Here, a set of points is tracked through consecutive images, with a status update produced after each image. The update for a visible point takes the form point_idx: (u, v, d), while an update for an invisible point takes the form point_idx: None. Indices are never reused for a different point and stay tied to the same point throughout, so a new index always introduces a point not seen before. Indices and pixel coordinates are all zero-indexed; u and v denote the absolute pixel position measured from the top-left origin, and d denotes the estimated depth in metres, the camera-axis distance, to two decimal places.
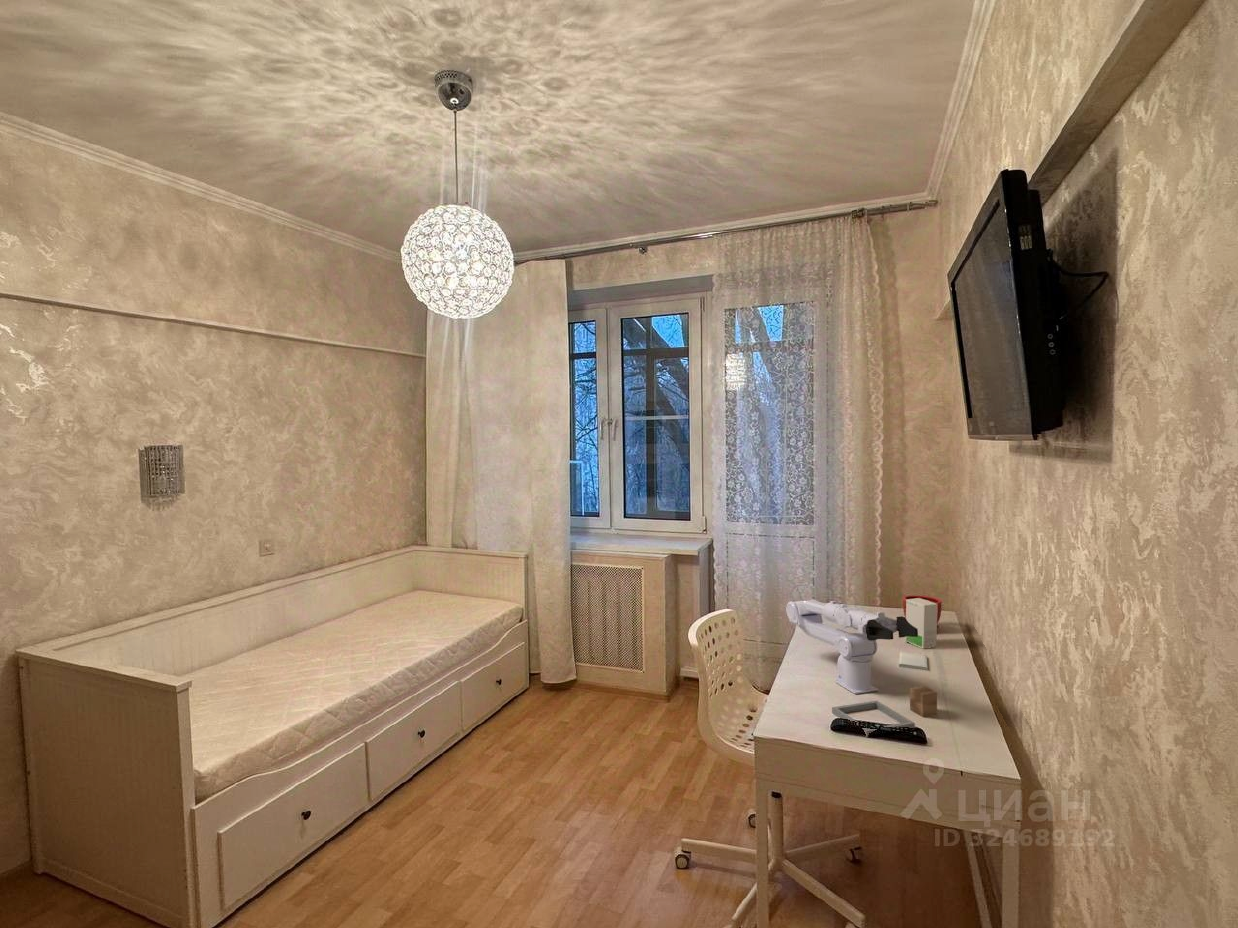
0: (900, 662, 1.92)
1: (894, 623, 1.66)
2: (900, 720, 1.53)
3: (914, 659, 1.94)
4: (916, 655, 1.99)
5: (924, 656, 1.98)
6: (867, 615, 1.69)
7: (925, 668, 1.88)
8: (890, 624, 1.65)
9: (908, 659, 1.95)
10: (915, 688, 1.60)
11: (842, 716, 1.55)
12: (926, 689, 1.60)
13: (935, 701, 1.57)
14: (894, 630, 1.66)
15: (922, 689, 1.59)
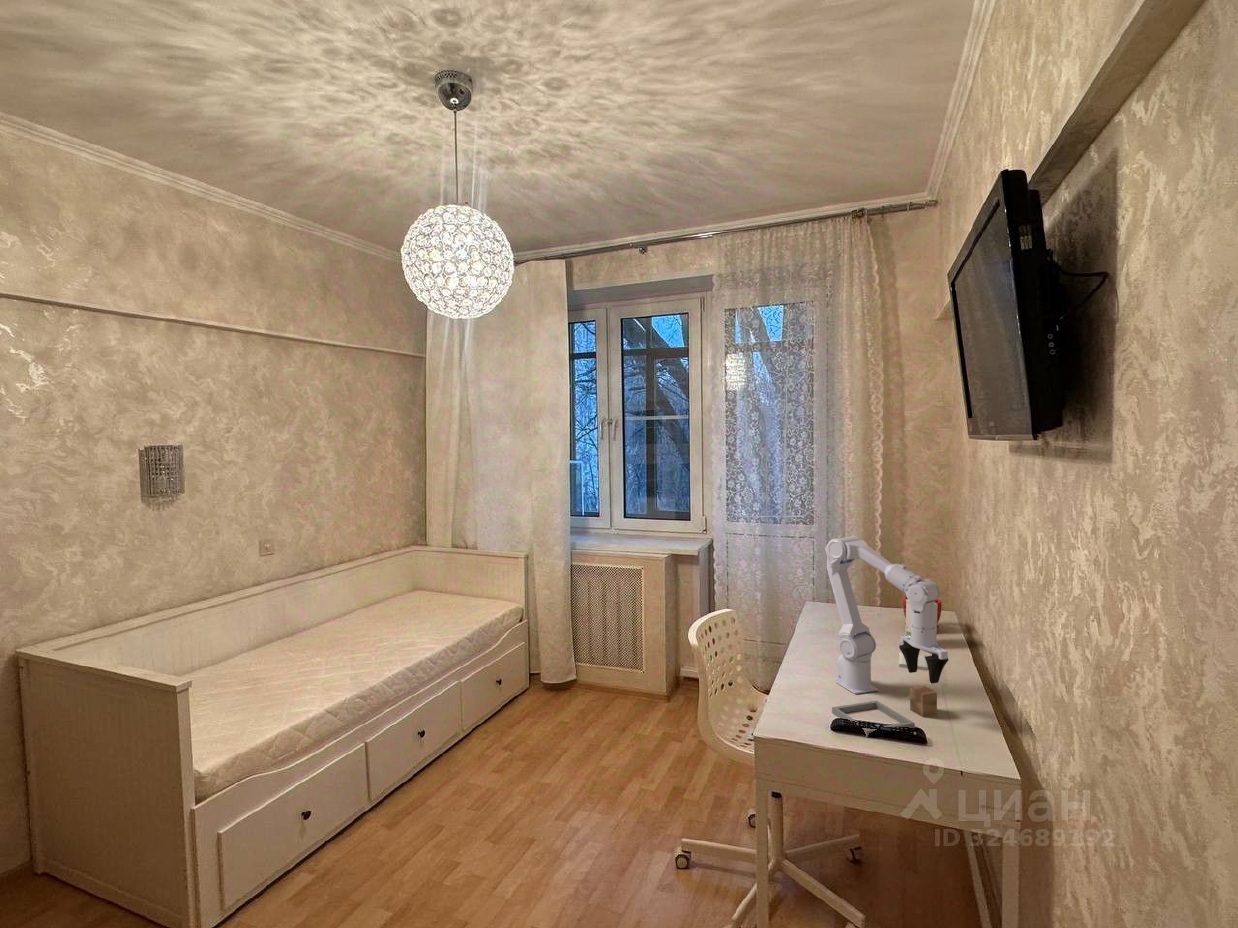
0: (900, 662, 1.92)
1: None
2: (900, 720, 1.53)
3: None
4: None
5: (924, 656, 1.98)
6: None
7: (925, 668, 1.88)
8: None
9: None
10: (915, 688, 1.60)
11: (842, 716, 1.55)
12: (926, 689, 1.60)
13: (935, 701, 1.57)
14: None
15: (922, 689, 1.59)
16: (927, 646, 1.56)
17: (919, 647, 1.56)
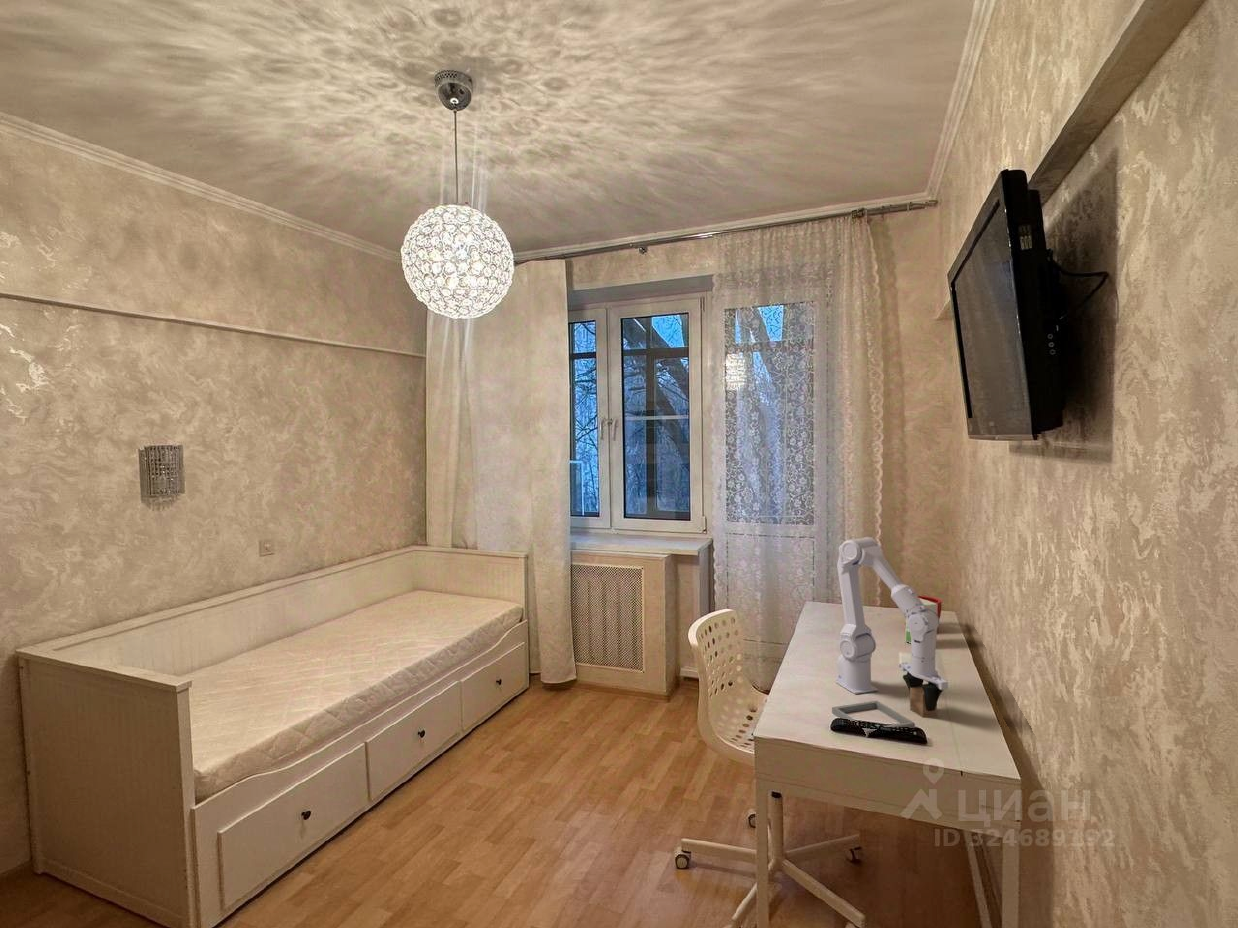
0: (900, 662, 1.92)
1: None
2: (900, 720, 1.53)
3: None
4: None
5: None
6: None
7: None
8: None
9: (908, 660, 1.94)
10: (915, 688, 1.60)
11: (842, 716, 1.55)
12: None
13: None
14: None
15: (922, 689, 1.59)
16: (927, 676, 1.56)
17: (919, 677, 1.56)
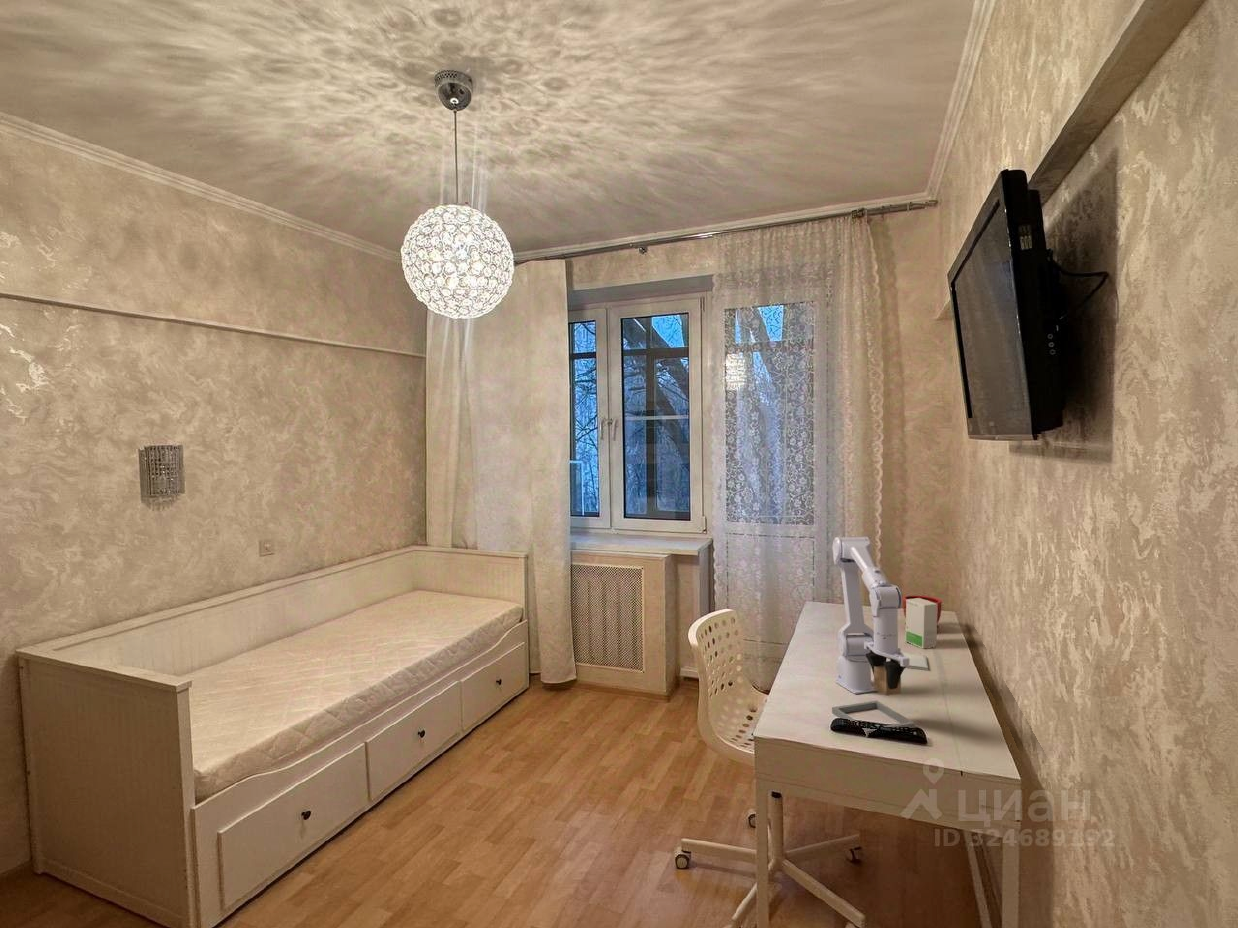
0: None
1: None
2: (900, 720, 1.53)
3: (914, 660, 1.94)
4: (915, 655, 1.98)
5: (923, 656, 1.98)
6: None
7: (926, 668, 1.88)
8: None
9: None
10: (879, 666, 1.57)
11: (842, 716, 1.55)
12: None
13: (899, 679, 1.54)
14: None
15: None
16: (889, 653, 1.53)
17: (881, 654, 1.53)
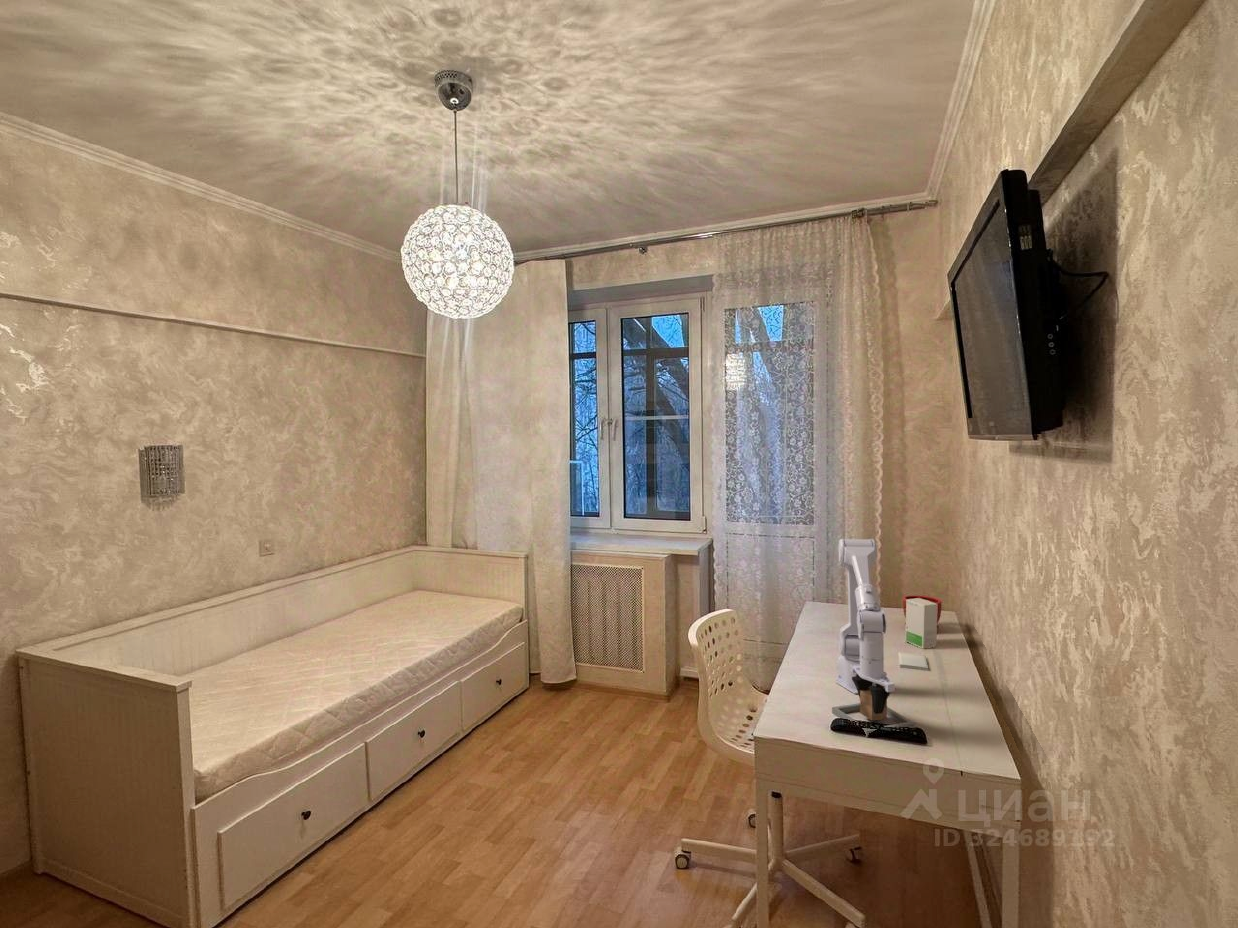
0: (901, 663, 1.92)
1: None
2: (900, 720, 1.53)
3: (914, 660, 1.94)
4: (915, 655, 1.98)
5: (923, 656, 1.98)
6: None
7: (926, 668, 1.88)
8: None
9: (908, 660, 1.94)
10: (865, 690, 1.56)
11: (842, 716, 1.55)
12: None
13: (885, 704, 1.53)
14: None
15: None
16: (875, 677, 1.52)
17: (867, 678, 1.52)
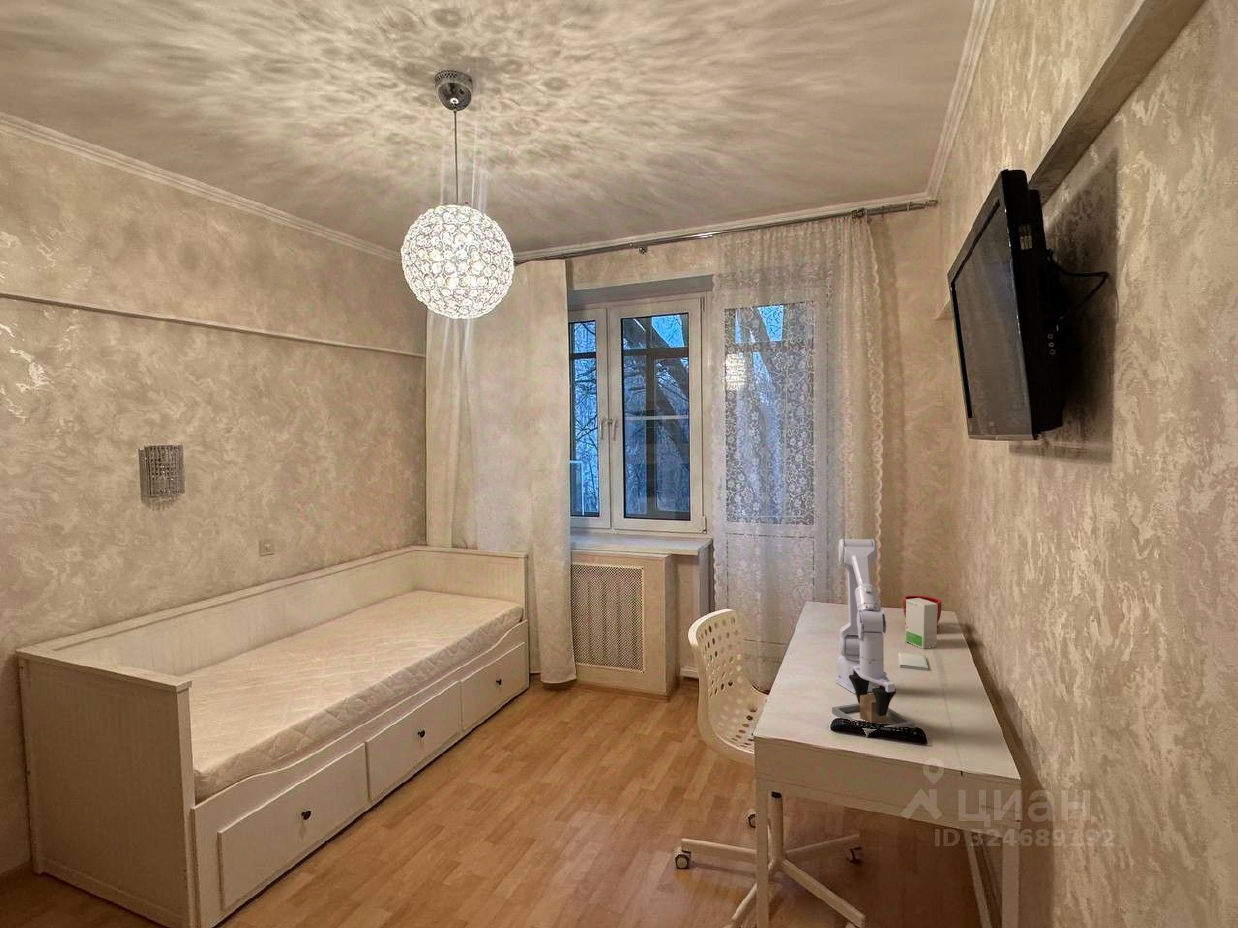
0: (901, 663, 1.92)
1: None
2: (900, 720, 1.53)
3: (914, 660, 1.94)
4: (915, 655, 1.98)
5: (923, 656, 1.98)
6: None
7: (926, 668, 1.88)
8: None
9: (908, 660, 1.94)
10: (865, 695, 1.56)
11: (842, 716, 1.55)
12: None
13: None
14: None
15: (872, 697, 1.55)
16: (875, 677, 1.52)
17: (867, 678, 1.52)
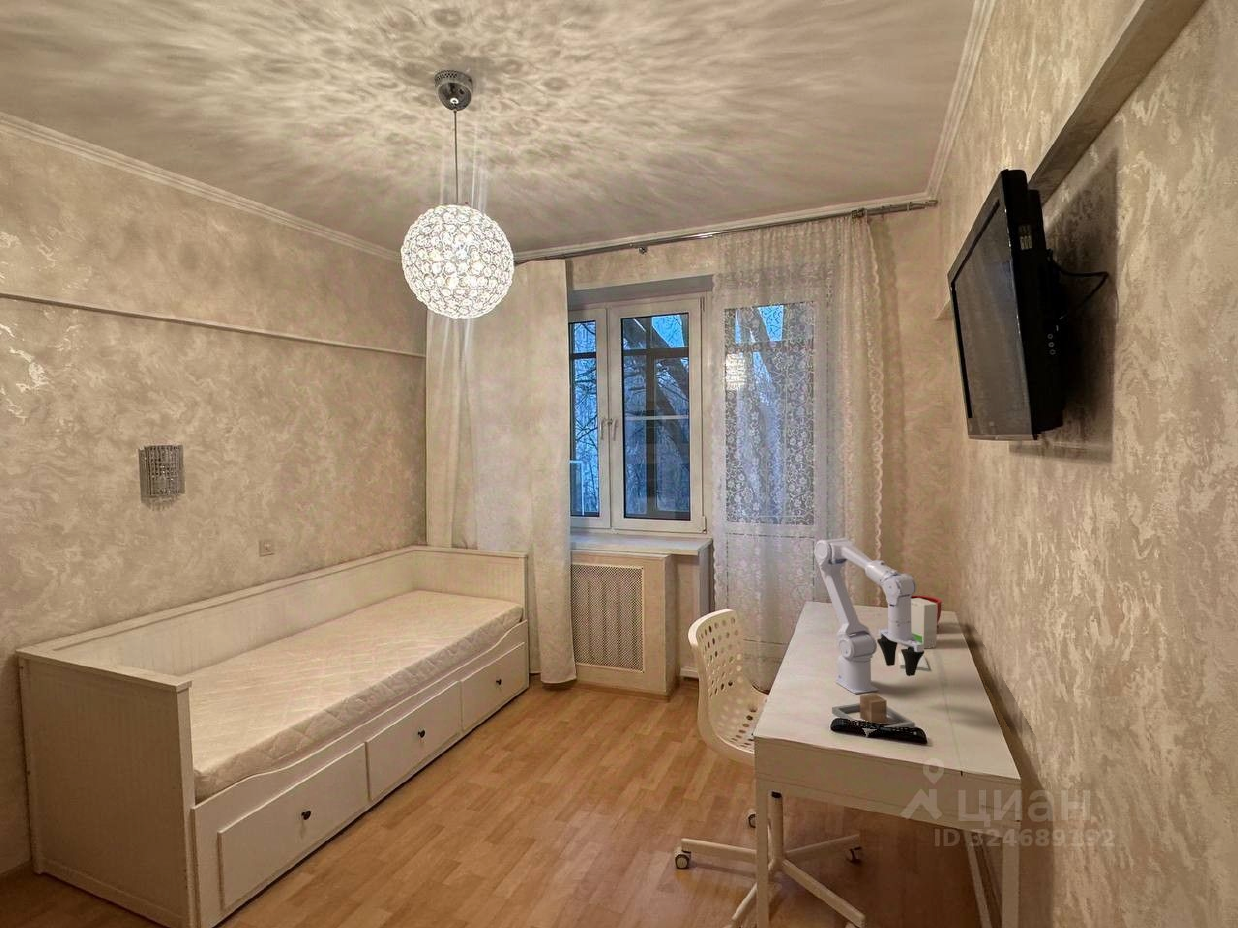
0: (901, 663, 1.92)
1: None
2: (900, 720, 1.53)
3: None
4: None
5: (922, 656, 1.98)
6: None
7: (926, 669, 1.88)
8: None
9: None
10: (865, 695, 1.56)
11: (842, 716, 1.55)
12: (876, 696, 1.55)
13: (885, 709, 1.53)
14: None
15: (872, 697, 1.55)
16: (903, 639, 1.58)
17: (896, 640, 1.59)
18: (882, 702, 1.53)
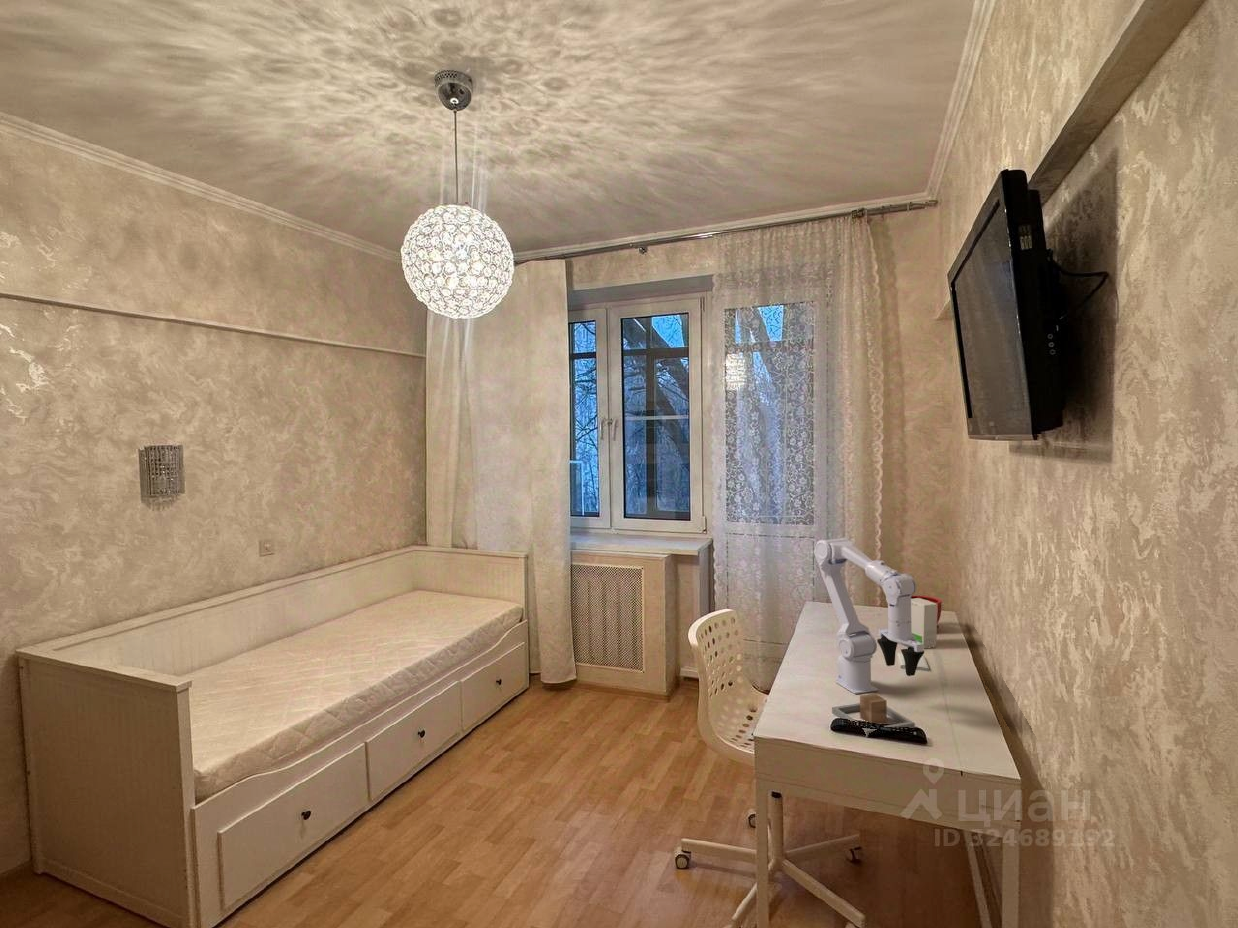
0: (901, 663, 1.91)
1: None
2: (900, 720, 1.53)
3: None
4: None
5: (922, 656, 1.97)
6: None
7: (926, 669, 1.88)
8: None
9: None
10: (865, 695, 1.56)
11: (842, 716, 1.55)
12: (876, 696, 1.55)
13: (885, 709, 1.53)
14: None
15: (872, 697, 1.55)
16: (903, 639, 1.58)
17: (896, 640, 1.59)
18: (882, 702, 1.53)
